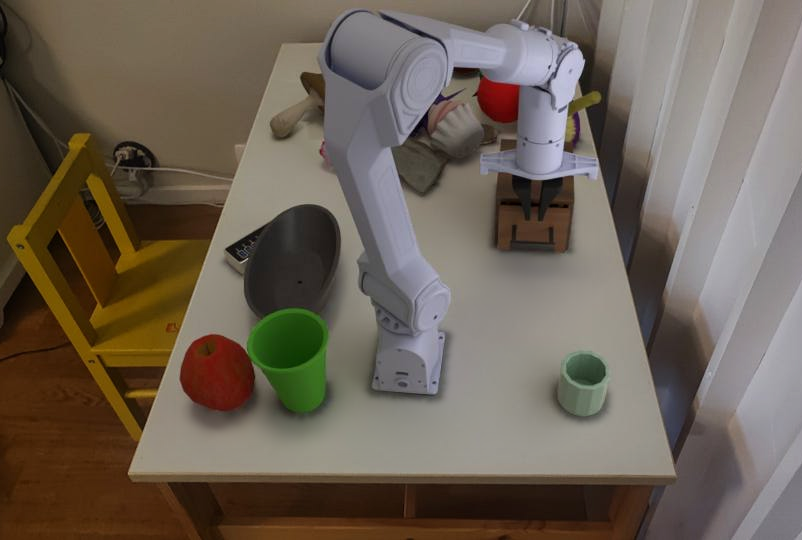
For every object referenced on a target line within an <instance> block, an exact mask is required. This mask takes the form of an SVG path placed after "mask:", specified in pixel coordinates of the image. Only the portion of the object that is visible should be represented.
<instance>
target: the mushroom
mask: <svg viewBox="0 0 802 540" xmlns="http://www.w3.org/2000/svg"><path fill="white" fill-rule="evenodd" d="M299 78H300V83H301V85H302V87H303V89H304V90H305V92H306V93H307V96H306V97H305V98H304V99H302V100H301V101H299V102H298V103H296V104H294V105H291V106H290V107H288V108H286V109H283V110H282V111H280V112H278V113H276V115H274V116H273V117H271V119H270V121H269V126H270V130H271V132H272V133H273V134H274V135H275V136H276V137H278V138H284V137H287V136H288V135H289V134H290V133H291V132H292V131H293V130H294V128H295V127H296V125H297V124H298V123H299V122H300V121H301V119H302V118H303V117H304V116H305V114H306V113H307V112H309V111H311V109H313V108H315V107H317V108H318V109H319V110H320V111H321V112H322V113H323V114H324V113H325V86H326V84H325V81H324V78H323V75H322V72H321V73H316V72H310V71H302V72H301V73H300V76H299Z"/></svg>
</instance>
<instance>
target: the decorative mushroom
mask: <svg viewBox="0 0 802 540" xmlns="http://www.w3.org/2000/svg"><path fill="white" fill-rule="evenodd" d="M601 100H602V95H601V93H600V92H599V91H597V90H593V91H591V92H589V93H587V94H585V95H582V96H580V97H578V98H576V99H575V100H574V98H573V99H572V101H571V102H569V104H568V113H567V122H566V131H565V139H564V141H567V142H573V149H574V148H576V145H577V143H578V141H579V139H580V135H581V119H580V115H579V112H580V111H581V110H583V109H586V108H588V107H591V106H594V105H595V104H599V103H600V102H601Z"/></svg>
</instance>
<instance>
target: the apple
mask: <svg viewBox="0 0 802 540" xmlns="http://www.w3.org/2000/svg"><path fill="white" fill-rule="evenodd" d="M256 377H257V376H256V373H255V367H254V363H253V362H252V360H251V359H250V358H249V355H248V352H247V350H245V348H244V347H243V346H242V345H241V344H240V343H239V342H236V341H235V340H233V339H231V338H229V337H226V336H225V335H221V334H218V333H217V334H216V333H209V334H207V335H203V336H200V337H199V338H197V339H195V340H193V341H192V342H191V343H190V345H189V346H188V348H187V349H186V351H185V352H184V356H183V359H182V362H181V366H180V371H179V382H180V385H181V388H182V391H183V392H184V394H185V395H186V396H187V397H188V398H189V399H190V400H191V402H193V403H195V404H197V405H199V406H201V407H204V408H206V409H208V410H211V411H215V412H216V411H217V412H231V411H235V410H237V409H239V408H241V407H242V406H244V404H246V402H247V401H248V400H250V398H251V397H252V395H253V392H254V389H255V383H256Z"/></svg>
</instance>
